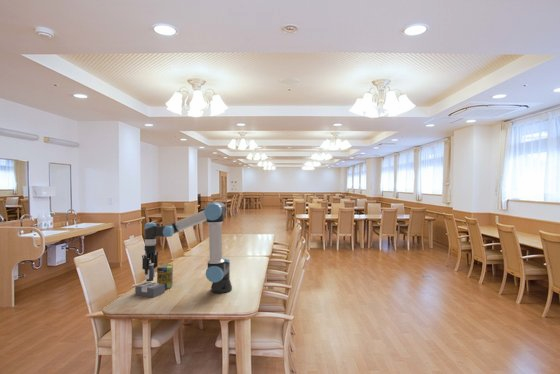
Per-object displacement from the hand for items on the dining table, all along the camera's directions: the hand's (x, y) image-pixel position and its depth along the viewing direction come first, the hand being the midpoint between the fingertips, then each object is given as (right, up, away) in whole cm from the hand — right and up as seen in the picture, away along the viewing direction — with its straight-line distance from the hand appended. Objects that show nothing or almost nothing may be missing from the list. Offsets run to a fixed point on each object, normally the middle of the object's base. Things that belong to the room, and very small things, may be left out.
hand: (150, 277), depth 230 cm
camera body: (0, -11, 0) cm, 11 cm away
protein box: (+4, -11, +19) cm, 22 cm away
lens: (0, -2, 0) cm, 2 cm away
